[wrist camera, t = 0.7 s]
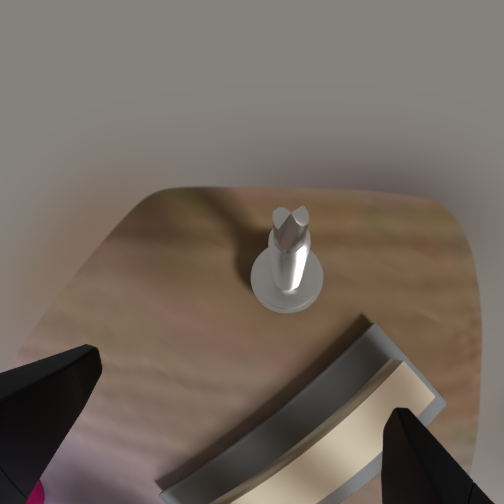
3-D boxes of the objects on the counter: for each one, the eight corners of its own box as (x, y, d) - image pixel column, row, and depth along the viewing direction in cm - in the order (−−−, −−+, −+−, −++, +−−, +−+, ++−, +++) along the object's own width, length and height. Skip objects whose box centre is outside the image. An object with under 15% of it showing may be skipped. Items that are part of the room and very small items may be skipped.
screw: (333, 281, 23) (287, 330, 22) (285, 238, 24) (239, 283, 24) (386, 211, 11) (293, 313, 10) (286, 132, 12) (192, 215, 11)
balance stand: (238, 557, 17) (231, 582, 14) (163, 490, 20) (145, 509, 16) (441, 401, 20) (465, 409, 16) (371, 323, 22) (387, 319, 18)
